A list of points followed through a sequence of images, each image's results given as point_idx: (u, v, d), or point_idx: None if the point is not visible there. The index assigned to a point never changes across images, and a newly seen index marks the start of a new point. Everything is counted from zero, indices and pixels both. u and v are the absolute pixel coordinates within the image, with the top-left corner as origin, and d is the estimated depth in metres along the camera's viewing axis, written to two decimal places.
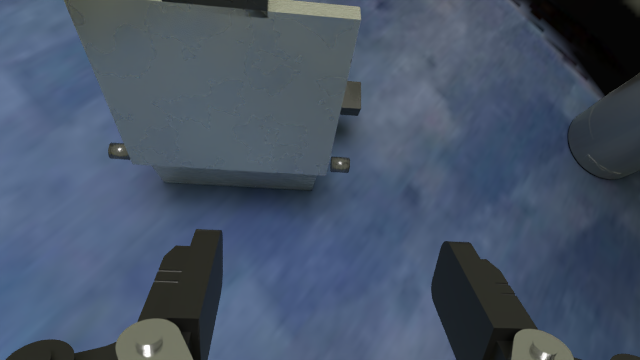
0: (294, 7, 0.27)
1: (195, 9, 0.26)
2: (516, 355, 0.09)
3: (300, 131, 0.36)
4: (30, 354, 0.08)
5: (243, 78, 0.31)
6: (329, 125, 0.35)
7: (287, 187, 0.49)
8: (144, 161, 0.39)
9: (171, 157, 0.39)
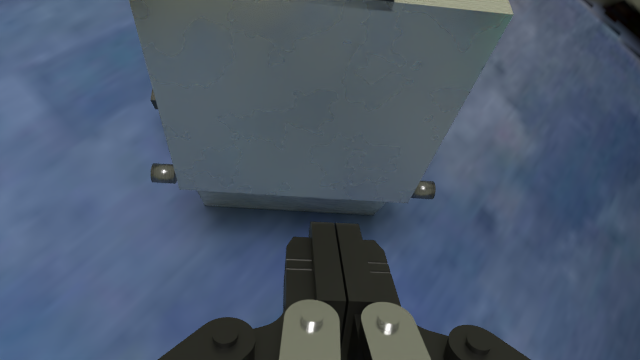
0: None
1: None
2: (370, 338, 0.09)
3: (392, 153, 0.29)
4: (223, 327, 0.09)
5: (338, 89, 0.24)
6: (430, 146, 0.28)
7: (346, 211, 0.43)
8: (193, 187, 0.33)
9: (228, 181, 0.32)
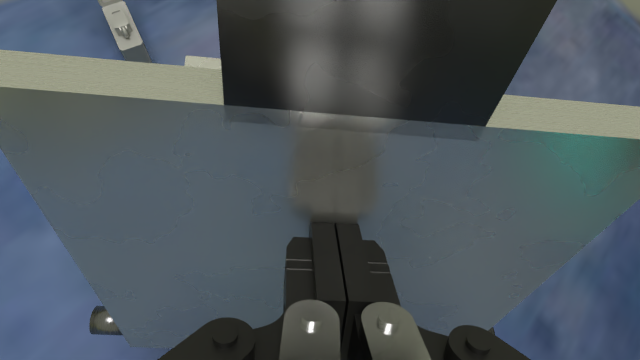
0: (540, 114, 0.11)
1: (305, 123, 0.10)
2: (370, 338, 0.09)
3: (444, 311, 0.19)
4: (223, 327, 0.09)
5: None
6: (503, 305, 0.19)
7: None
8: (150, 344, 0.22)
9: None
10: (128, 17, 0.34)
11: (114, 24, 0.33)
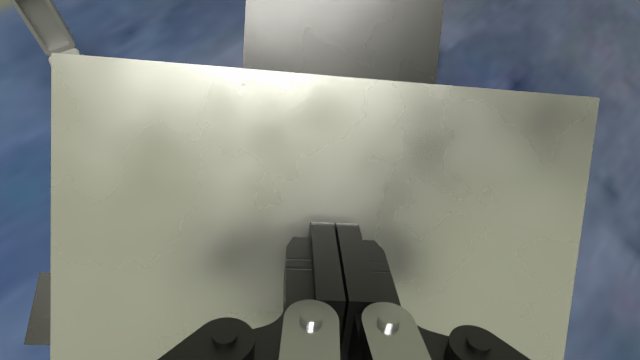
0: None
1: (302, 85, 0.14)
2: (371, 338, 0.09)
3: None
4: (223, 327, 0.09)
5: None
6: None
7: None
8: None
9: None
10: None
11: None
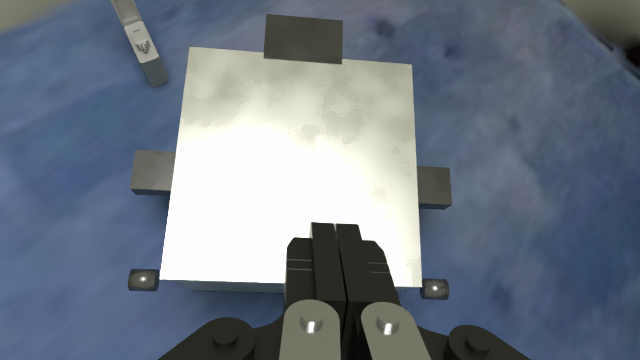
0: None
1: (288, 58, 0.34)
2: (370, 338, 0.09)
3: (379, 196, 0.32)
4: (223, 327, 0.09)
5: (320, 124, 0.33)
6: (409, 184, 0.32)
7: None
8: (178, 272, 0.29)
9: (219, 257, 0.29)
10: (146, 34, 0.40)
11: (135, 41, 0.39)
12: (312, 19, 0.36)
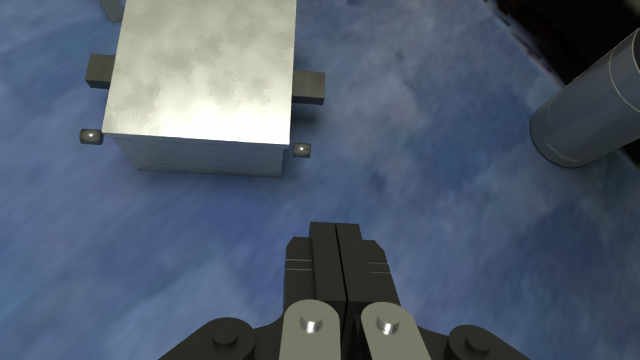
0: None
1: None
2: (370, 338, 0.09)
3: (263, 84, 0.44)
4: (223, 327, 0.09)
5: (223, 34, 0.45)
6: (286, 77, 0.45)
7: (257, 174, 0.51)
8: (114, 128, 0.41)
9: (144, 120, 0.42)
10: None
11: None
12: None
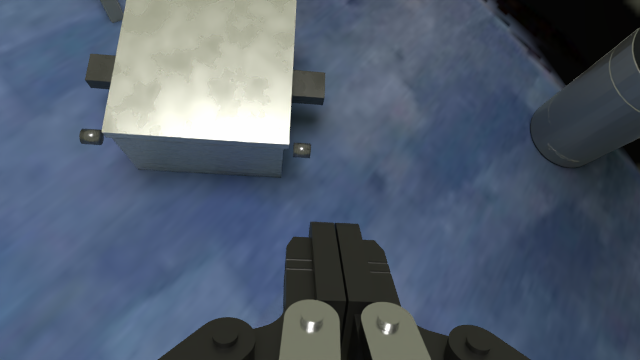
0: None
1: None
2: (370, 338, 0.09)
3: (263, 84, 0.44)
4: (223, 327, 0.09)
5: (223, 34, 0.45)
6: (286, 77, 0.45)
7: (257, 174, 0.51)
8: (114, 128, 0.41)
9: (144, 120, 0.42)
10: None
11: None
12: None
